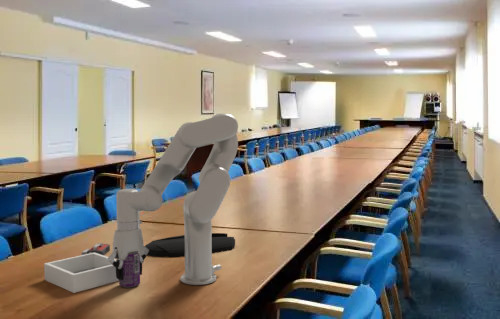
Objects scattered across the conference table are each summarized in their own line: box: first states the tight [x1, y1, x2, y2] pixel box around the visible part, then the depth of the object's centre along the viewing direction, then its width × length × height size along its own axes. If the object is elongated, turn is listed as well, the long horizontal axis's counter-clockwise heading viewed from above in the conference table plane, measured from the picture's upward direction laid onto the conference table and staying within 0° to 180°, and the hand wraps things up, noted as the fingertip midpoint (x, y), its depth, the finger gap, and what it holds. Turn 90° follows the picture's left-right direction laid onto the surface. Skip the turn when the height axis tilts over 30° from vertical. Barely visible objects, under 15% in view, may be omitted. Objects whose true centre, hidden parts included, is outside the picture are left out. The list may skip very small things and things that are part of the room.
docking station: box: [144, 232, 236, 258], centre depth 234 cm, size 25×40×5 cm, turn 116°
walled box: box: [43, 252, 119, 294], centre depth 191 cm, size 20×20×6 cm
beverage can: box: [118, 251, 141, 289], centre depth 184 cm, size 7×7×12 cm
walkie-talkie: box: [81, 242, 111, 256], centre depth 223 cm, size 9×4×20 cm
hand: (129, 276), depth 184 cm, fingers closed on beverage can, 7 cm apart
